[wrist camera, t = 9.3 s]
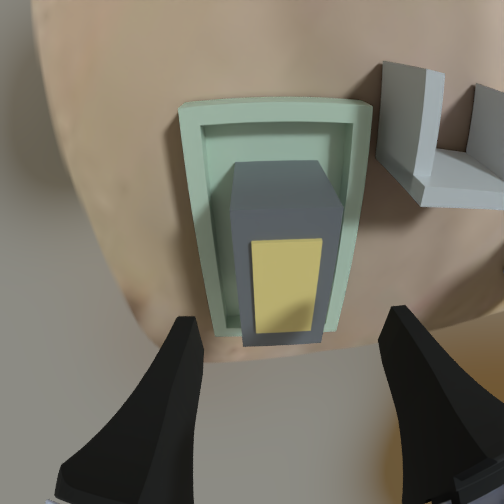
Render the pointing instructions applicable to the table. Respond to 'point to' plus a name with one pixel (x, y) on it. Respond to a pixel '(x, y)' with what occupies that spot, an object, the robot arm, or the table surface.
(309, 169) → the grey block yellow label
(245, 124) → the tray
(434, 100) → the bay
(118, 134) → the table surface
